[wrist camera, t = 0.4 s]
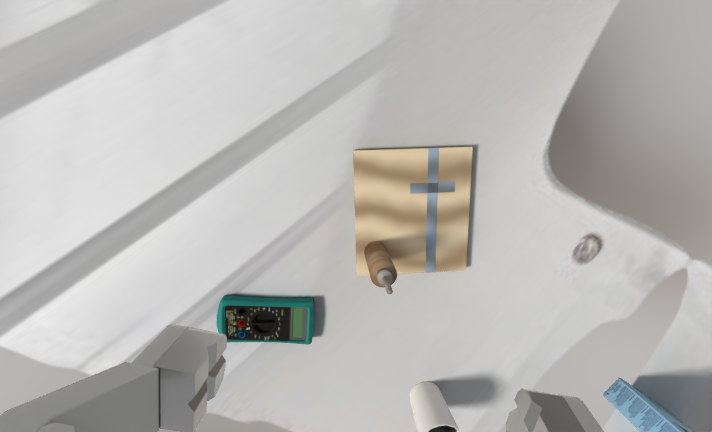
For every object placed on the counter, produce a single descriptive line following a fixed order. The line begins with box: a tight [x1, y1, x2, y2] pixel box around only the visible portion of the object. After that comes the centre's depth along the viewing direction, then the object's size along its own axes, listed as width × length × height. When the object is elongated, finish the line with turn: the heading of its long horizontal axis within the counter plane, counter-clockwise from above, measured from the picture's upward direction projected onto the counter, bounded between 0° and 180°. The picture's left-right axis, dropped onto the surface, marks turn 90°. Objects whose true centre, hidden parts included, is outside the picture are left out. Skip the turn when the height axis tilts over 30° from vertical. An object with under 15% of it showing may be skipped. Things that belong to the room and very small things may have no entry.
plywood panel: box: [353, 147, 473, 276], centre depth 56 cm, size 20×18×1 cm
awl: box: [364, 241, 397, 294], centre depth 49 cm, size 4×4×14 cm
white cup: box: [410, 382, 460, 432], centre depth 60 cm, size 7×7×10 cm
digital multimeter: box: [217, 295, 314, 344], centre depth 58 cm, size 8×15×3 cm, turn 86°
